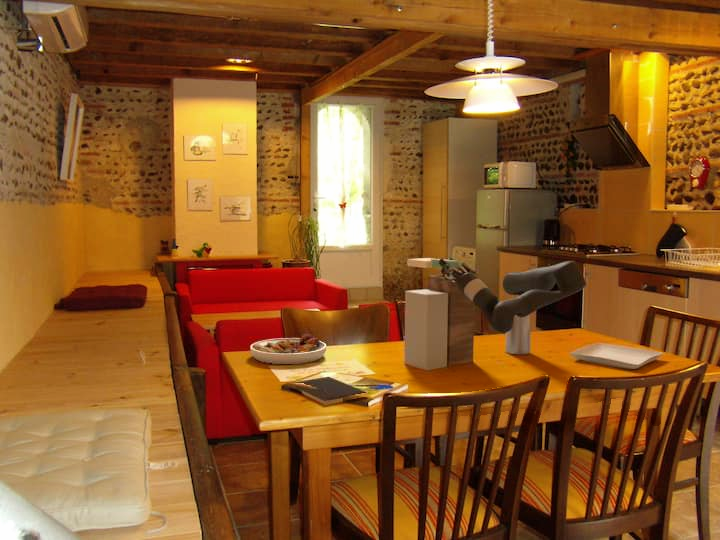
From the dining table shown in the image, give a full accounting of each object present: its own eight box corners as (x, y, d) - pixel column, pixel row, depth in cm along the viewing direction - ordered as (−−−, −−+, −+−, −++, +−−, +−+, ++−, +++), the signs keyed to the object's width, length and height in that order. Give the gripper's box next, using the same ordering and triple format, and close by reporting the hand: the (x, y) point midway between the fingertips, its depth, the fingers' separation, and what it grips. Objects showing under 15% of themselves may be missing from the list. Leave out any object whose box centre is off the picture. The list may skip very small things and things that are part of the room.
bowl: (295, 370, 250) (295, 349, 249) (234, 360, 266) (234, 340, 265) (340, 355, 276) (340, 336, 275) (282, 346, 291) (282, 328, 291)
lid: (465, 268, 245) (465, 260, 245) (444, 270, 240) (444, 261, 239) (427, 264, 263) (427, 256, 262) (407, 265, 257) (407, 257, 257)
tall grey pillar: (446, 366, 257) (448, 293, 254) (426, 370, 251) (427, 295, 248) (424, 360, 267) (425, 289, 264) (404, 363, 261) (405, 291, 259)
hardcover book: (324, 407, 207) (324, 399, 207) (289, 389, 226) (288, 383, 226) (367, 398, 216) (367, 391, 216) (330, 382, 235) (330, 376, 235)
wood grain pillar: (473, 362, 264) (475, 277, 261) (449, 366, 257) (450, 279, 254) (450, 355, 275) (452, 274, 272) (426, 359, 268) (428, 275, 265)
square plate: (568, 361, 268) (568, 351, 267) (597, 350, 288) (598, 341, 287) (637, 373, 249) (637, 363, 249) (664, 361, 269) (664, 351, 269)
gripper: (492, 278, 238) (463, 251, 249) (462, 280, 230) (433, 252, 241) (484, 295, 241) (455, 267, 253) (454, 298, 233) (426, 269, 245)
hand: (445, 260), depth 247 cm, fingers closed on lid, 4 cm apart
